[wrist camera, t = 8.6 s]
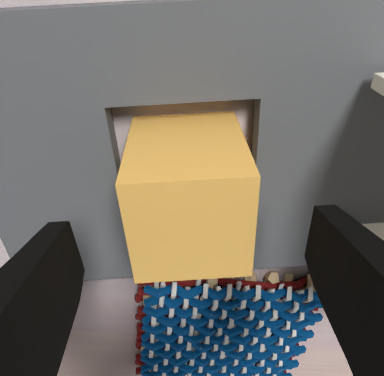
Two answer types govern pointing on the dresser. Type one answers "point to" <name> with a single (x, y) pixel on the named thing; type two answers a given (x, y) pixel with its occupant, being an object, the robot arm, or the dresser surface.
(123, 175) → the ochre block
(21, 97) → the puzzle board
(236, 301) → the woven mat
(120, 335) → the dresser surface
